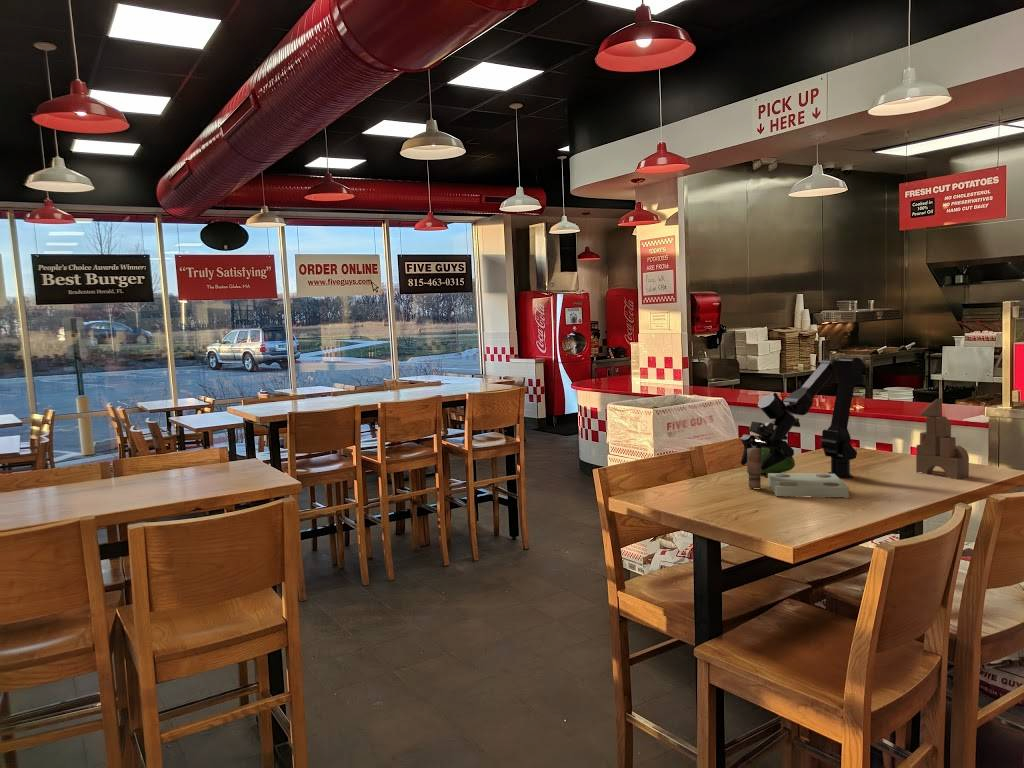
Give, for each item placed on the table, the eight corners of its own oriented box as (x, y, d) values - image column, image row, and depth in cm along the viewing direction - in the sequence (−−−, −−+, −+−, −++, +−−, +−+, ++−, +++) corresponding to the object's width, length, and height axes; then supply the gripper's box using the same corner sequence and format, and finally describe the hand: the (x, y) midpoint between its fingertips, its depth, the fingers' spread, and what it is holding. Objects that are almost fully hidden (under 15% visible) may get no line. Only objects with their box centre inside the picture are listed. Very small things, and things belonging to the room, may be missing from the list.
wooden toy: (970, 476, 231) (970, 398, 229) (957, 479, 228) (958, 400, 226) (923, 469, 245) (923, 395, 243) (911, 471, 242) (911, 397, 240)
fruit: (801, 475, 243) (801, 445, 242) (783, 479, 237) (783, 449, 236) (762, 469, 255) (762, 441, 254) (745, 473, 249) (744, 444, 249)
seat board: (768, 482, 234) (767, 472, 234) (834, 482, 230) (834, 473, 229) (776, 496, 215) (775, 486, 215) (848, 497, 210) (848, 487, 210)
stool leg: (747, 486, 229) (746, 447, 228) (761, 487, 228) (760, 447, 227) (748, 489, 225) (747, 450, 224) (762, 490, 224) (761, 450, 223)
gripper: (744, 409, 235) (717, 446, 232) (786, 415, 218) (757, 454, 215) (764, 431, 239) (737, 468, 235) (806, 438, 221) (778, 478, 218)
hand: (751, 466), depth 226 cm, fingers open, 9 cm apart
